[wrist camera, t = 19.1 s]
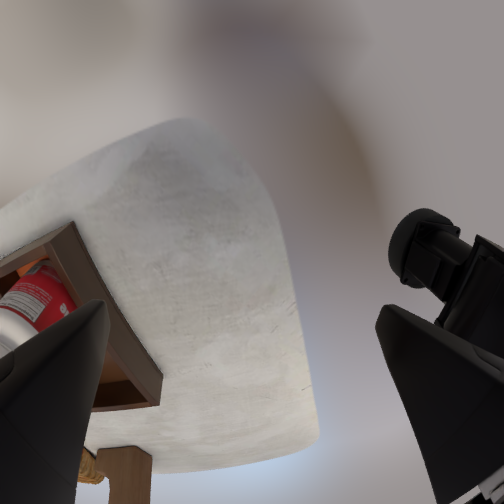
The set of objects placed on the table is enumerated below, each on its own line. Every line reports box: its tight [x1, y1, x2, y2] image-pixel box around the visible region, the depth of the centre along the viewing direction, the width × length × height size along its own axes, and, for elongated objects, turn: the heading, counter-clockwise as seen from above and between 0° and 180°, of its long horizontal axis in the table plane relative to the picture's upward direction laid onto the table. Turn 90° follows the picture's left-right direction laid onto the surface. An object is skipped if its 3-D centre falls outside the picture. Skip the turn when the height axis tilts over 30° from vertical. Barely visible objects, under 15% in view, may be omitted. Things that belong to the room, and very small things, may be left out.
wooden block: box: [94, 446, 152, 504], centre depth 26 cm, size 9×4×18 cm, turn 114°
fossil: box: [77, 448, 105, 484], centre depth 31 cm, size 12×6×9 cm
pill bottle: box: [0, 260, 77, 358], centre depth 15 cm, size 6×6×11 cm
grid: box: [0, 222, 163, 412], centre depth 21 cm, size 17×17×4 cm
